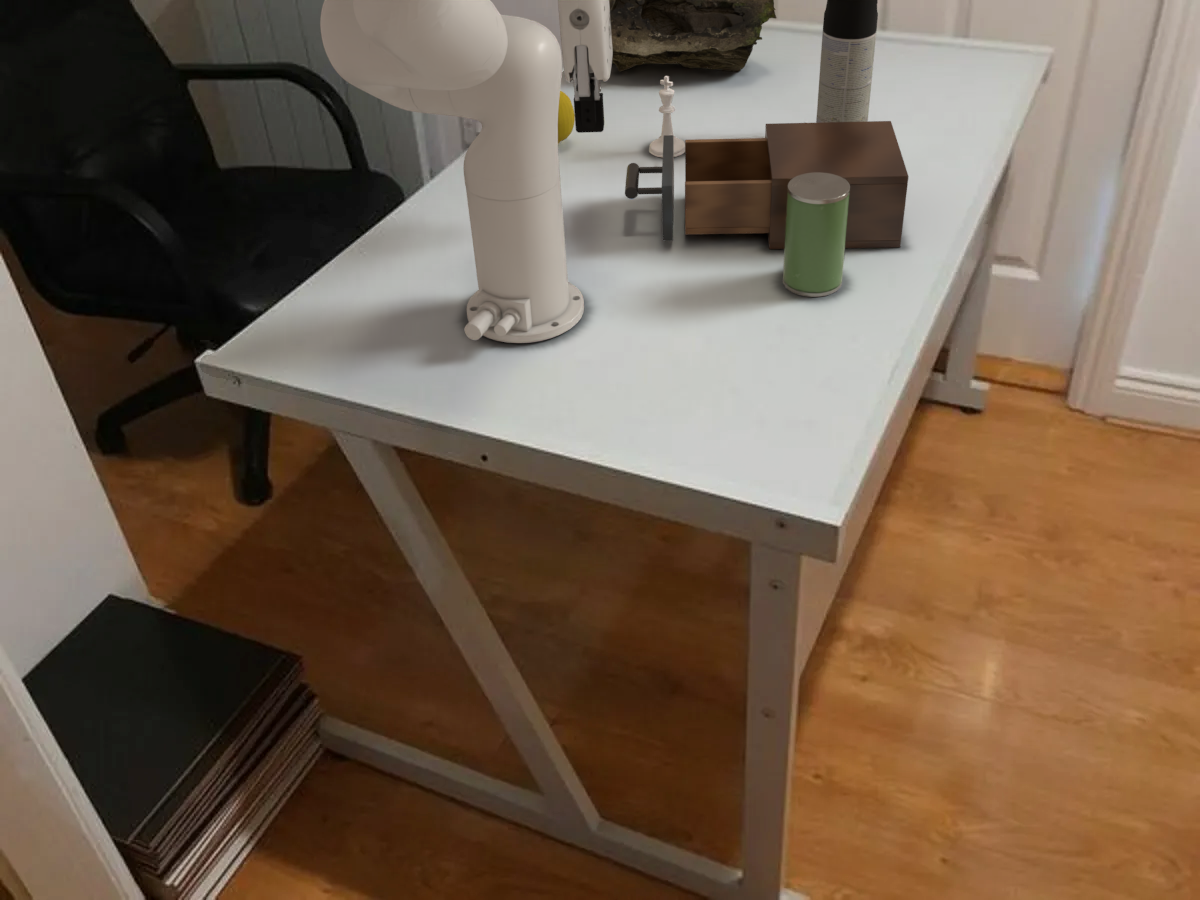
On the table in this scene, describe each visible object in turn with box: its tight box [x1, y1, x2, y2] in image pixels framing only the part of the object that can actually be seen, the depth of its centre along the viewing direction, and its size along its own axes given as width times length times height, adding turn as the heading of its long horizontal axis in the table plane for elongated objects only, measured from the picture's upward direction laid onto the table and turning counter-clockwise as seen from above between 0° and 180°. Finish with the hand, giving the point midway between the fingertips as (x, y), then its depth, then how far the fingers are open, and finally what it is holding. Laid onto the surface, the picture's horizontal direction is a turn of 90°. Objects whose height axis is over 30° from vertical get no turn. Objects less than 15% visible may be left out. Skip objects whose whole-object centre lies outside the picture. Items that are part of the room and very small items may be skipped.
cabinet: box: [764, 120, 909, 250], centre depth 142 cm, size 15×15×9 cm
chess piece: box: [648, 75, 685, 158], centre depth 159 cm, size 5×5×10 cm
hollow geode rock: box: [609, 0, 777, 72], centre depth 182 cm, size 28×13×15 cm
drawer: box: [624, 135, 772, 242], centre depth 143 cm, size 18×14×7 cm
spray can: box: [815, 0, 879, 123], centre depth 155 cm, size 7×7×20 cm
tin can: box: [782, 172, 850, 298], centre depth 130 cm, size 6×6×12 cm
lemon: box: [558, 90, 575, 145], centre depth 162 cm, size 6×6×8 cm
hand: (590, 128), depth 140 cm, fingers closed
